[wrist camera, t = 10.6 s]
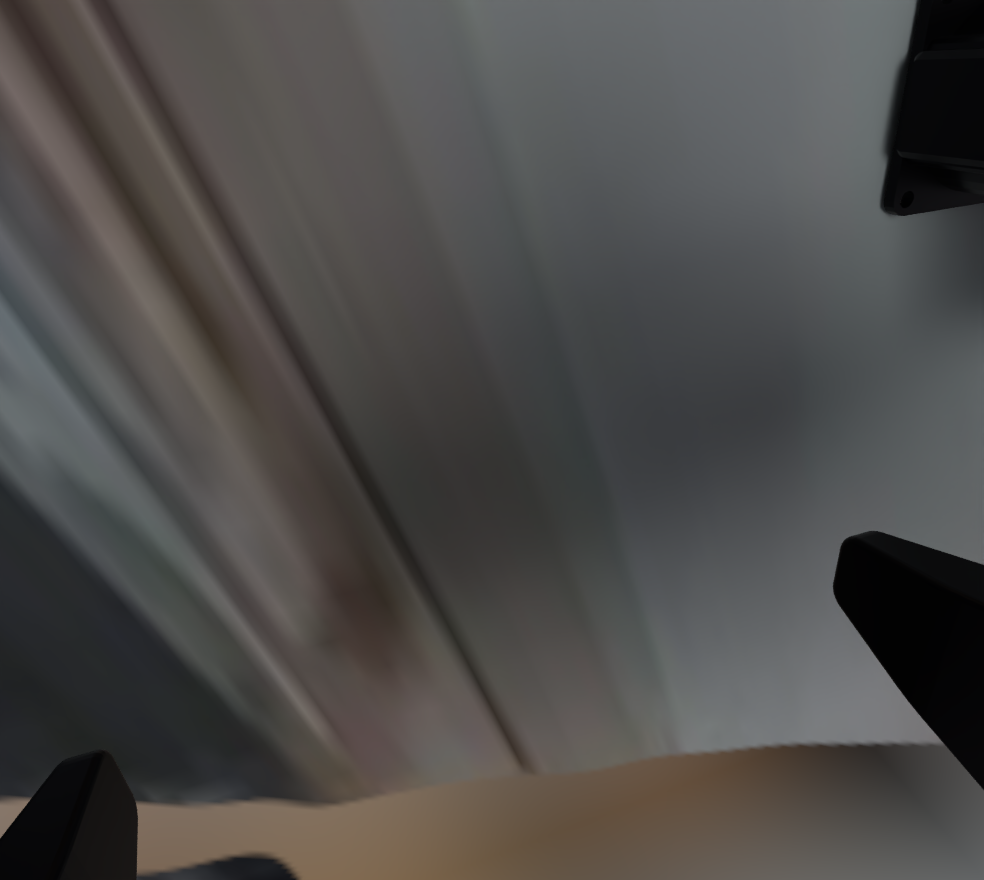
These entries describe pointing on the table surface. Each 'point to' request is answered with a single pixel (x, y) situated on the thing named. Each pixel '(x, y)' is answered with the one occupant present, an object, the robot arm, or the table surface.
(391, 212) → the table surface
